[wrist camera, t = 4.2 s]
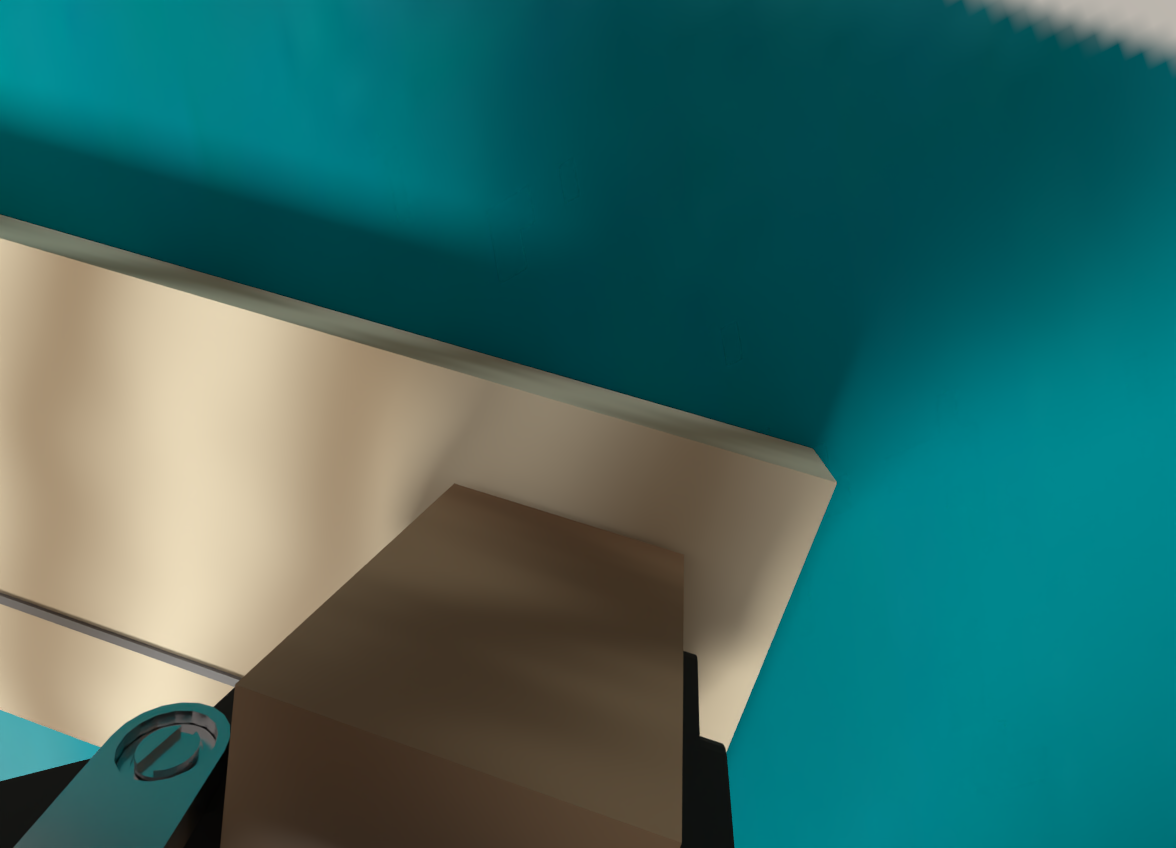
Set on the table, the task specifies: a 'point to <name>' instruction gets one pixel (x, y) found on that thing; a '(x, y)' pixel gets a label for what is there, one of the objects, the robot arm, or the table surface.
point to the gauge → (472, 695)
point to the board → (315, 480)
